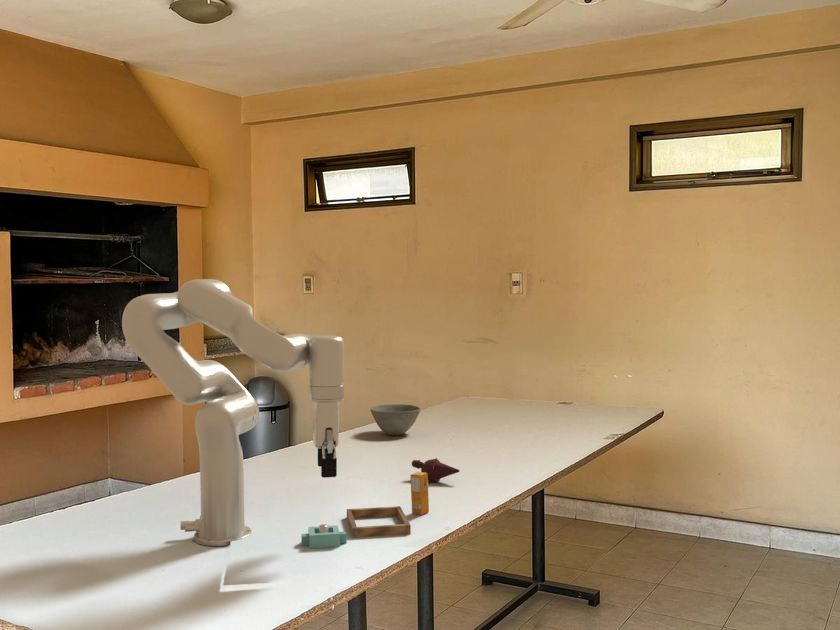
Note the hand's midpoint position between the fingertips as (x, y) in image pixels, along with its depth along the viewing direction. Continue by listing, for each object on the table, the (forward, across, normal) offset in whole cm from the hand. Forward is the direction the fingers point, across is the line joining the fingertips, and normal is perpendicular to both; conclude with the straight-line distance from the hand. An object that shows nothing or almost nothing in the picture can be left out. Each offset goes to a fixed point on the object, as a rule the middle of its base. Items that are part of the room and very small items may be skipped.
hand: (326, 471), depth 173 cm
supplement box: (+17, -20, +25) cm, 36 cm away
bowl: (+17, -119, +36) cm, 125 cm away
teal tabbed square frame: (+16, +1, -1) cm, 16 cm away
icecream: (+17, -49, +35) cm, 62 cm away
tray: (+16, -9, +12) cm, 23 cm away
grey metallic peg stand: (+17, +1, -1) cm, 17 cm away
